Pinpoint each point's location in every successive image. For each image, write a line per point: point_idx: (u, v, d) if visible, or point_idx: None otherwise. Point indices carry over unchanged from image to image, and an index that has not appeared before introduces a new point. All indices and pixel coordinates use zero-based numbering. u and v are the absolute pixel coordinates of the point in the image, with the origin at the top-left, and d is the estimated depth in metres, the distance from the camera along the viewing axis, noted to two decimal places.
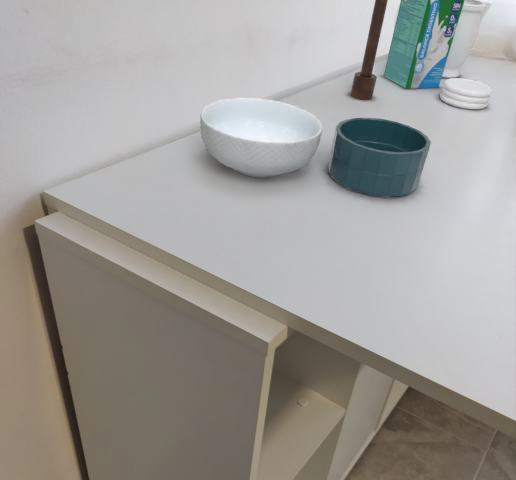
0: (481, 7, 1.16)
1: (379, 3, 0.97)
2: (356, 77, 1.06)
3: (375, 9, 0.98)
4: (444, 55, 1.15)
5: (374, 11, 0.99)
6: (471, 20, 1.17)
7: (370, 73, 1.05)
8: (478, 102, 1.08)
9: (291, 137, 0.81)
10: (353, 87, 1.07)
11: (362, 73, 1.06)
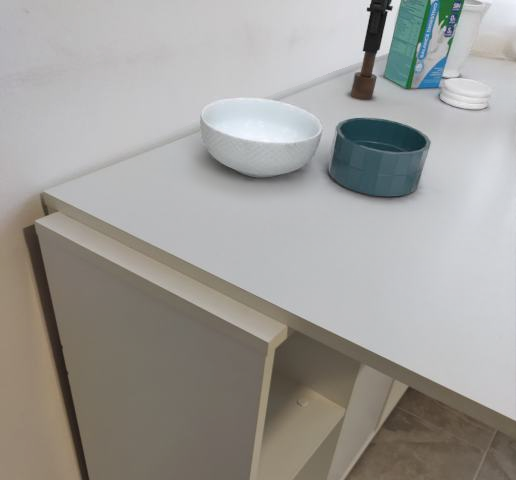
0: (481, 7, 1.16)
1: None
2: (356, 77, 1.06)
3: None
4: (444, 55, 1.15)
5: None
6: (471, 20, 1.17)
7: (370, 73, 1.05)
8: (478, 102, 1.08)
9: (291, 137, 0.81)
10: (353, 87, 1.07)
11: (362, 73, 1.06)
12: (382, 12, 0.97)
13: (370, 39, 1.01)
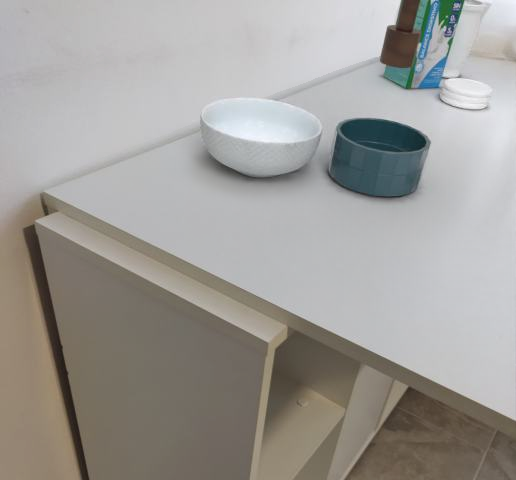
0: (481, 7, 1.16)
1: None
2: (390, 32, 0.67)
3: None
4: (444, 55, 1.15)
5: None
6: (471, 20, 1.17)
7: (412, 25, 0.67)
8: (478, 102, 1.08)
9: (291, 137, 0.81)
10: (384, 48, 0.69)
11: (399, 25, 0.67)
12: None
13: None
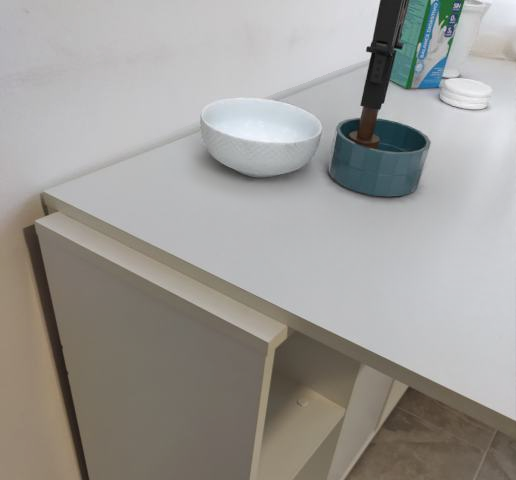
0: (481, 7, 1.16)
1: None
2: (351, 140, 0.75)
3: None
4: (444, 55, 1.15)
5: None
6: (471, 20, 1.17)
7: (371, 135, 0.75)
8: (478, 102, 1.08)
9: (291, 137, 0.81)
10: None
11: (359, 134, 0.75)
12: (389, 54, 0.66)
13: (371, 90, 0.70)
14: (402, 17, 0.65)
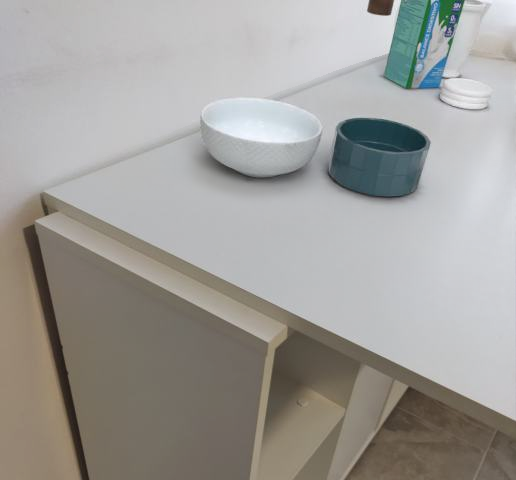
0: (481, 7, 1.16)
1: None
2: None
3: None
4: (444, 55, 1.15)
5: None
6: (471, 20, 1.17)
7: None
8: (478, 102, 1.08)
9: (291, 137, 0.81)
10: (370, 1, 0.96)
11: None
12: None
13: None
14: None
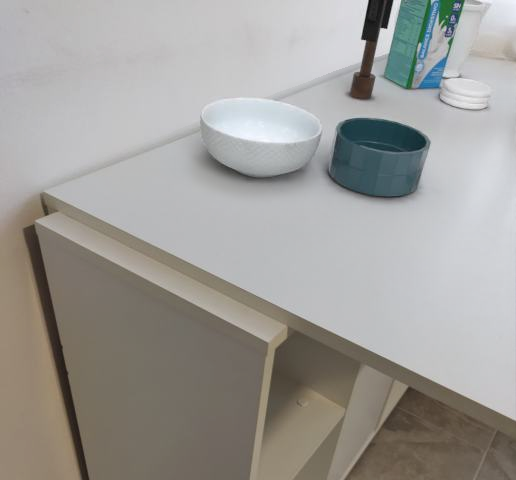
0: (481, 7, 1.16)
1: None
2: (355, 77, 1.06)
3: None
4: (444, 55, 1.15)
5: None
6: (471, 20, 1.17)
7: (369, 73, 1.05)
8: (478, 102, 1.08)
9: (291, 137, 0.81)
10: (352, 87, 1.07)
11: (361, 73, 1.06)
12: None
13: (368, 26, 0.95)
14: None
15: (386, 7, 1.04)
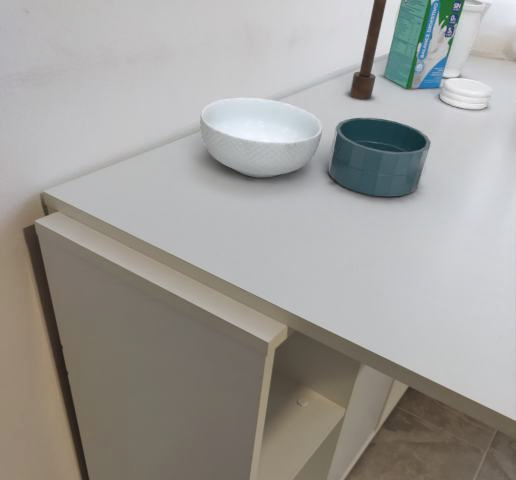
0: (481, 7, 1.16)
1: (378, 3, 0.97)
2: (355, 77, 1.06)
3: (374, 9, 0.98)
4: (445, 55, 1.15)
5: (373, 11, 0.99)
6: (471, 20, 1.17)
7: (369, 73, 1.05)
8: (478, 102, 1.08)
9: (291, 137, 0.81)
10: (352, 87, 1.07)
11: (361, 73, 1.06)
12: None
13: None
14: None
15: None
